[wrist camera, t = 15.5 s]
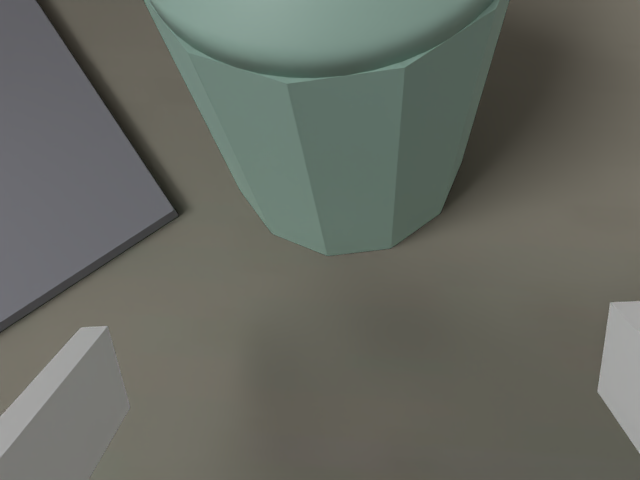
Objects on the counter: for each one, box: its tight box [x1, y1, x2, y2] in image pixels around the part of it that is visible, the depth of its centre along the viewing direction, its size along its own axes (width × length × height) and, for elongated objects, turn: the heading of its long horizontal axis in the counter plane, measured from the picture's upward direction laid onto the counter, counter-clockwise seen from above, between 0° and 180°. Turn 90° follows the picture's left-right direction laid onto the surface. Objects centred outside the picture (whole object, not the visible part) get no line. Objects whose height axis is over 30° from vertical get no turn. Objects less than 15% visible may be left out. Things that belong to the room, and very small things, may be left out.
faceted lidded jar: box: [144, 0, 509, 256], centre depth 18 cm, size 10×10×12 cm
